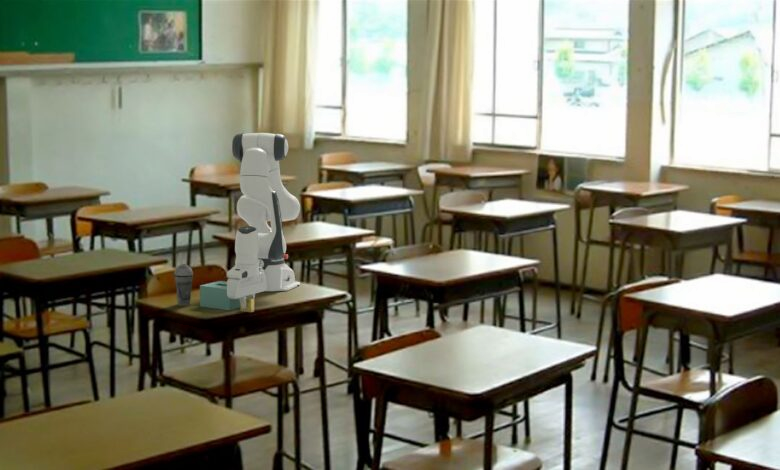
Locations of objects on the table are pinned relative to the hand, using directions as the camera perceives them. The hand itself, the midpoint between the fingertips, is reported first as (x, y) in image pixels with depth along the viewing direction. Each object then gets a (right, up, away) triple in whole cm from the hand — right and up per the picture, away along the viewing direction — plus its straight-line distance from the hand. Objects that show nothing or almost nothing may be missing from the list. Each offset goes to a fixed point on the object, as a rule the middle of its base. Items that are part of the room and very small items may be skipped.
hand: (247, 306), depth 451 cm
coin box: (-10, 0, +9) cm, 13 cm away
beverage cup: (-25, 0, +10) cm, 27 cm away
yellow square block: (0, -2, 0) cm, 2 cm away
